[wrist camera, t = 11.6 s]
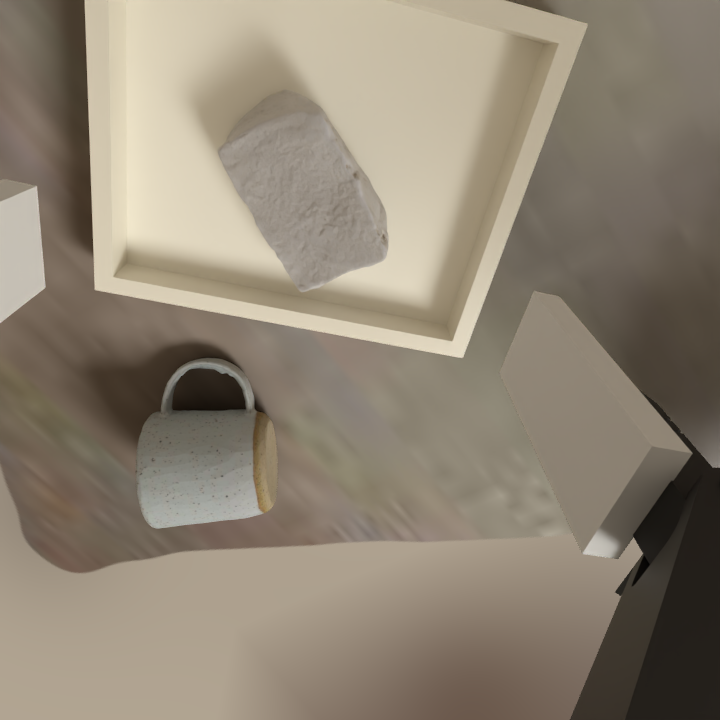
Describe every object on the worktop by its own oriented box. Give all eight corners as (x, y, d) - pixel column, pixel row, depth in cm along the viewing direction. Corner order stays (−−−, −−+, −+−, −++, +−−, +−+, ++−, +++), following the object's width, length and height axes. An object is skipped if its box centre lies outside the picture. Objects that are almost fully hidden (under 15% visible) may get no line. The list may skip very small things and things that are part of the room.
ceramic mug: (285, 466, 41) (274, 545, 34) (181, 472, 41) (149, 552, 34) (266, 347, 36) (247, 413, 29) (146, 354, 36) (100, 422, 29)
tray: (564, 26, 26) (588, 23, 24) (454, 335, 35) (462, 358, 33) (109, -103, 23) (80, -121, 21) (114, 270, 32) (94, 289, 30)
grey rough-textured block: (254, 125, 31) (192, 119, 26) (346, 71, 28) (296, 52, 23) (321, 284, 33) (275, 308, 28) (412, 249, 30) (379, 268, 25)
